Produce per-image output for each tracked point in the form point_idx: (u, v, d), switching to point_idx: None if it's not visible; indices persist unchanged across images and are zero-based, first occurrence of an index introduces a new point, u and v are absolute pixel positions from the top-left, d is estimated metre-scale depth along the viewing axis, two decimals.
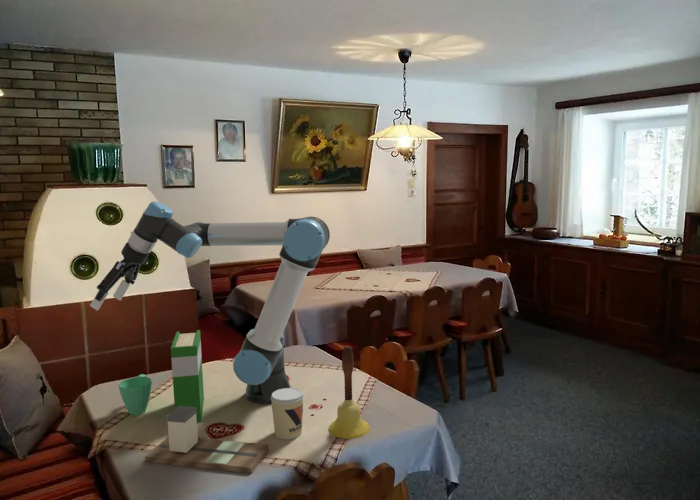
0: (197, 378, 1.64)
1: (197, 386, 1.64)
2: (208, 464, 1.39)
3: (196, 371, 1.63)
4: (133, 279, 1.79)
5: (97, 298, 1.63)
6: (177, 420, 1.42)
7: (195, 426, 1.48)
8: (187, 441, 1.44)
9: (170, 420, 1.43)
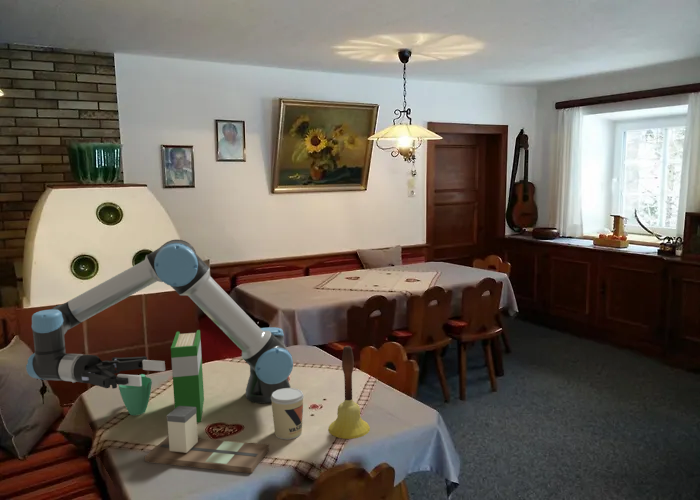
0: (197, 378, 1.64)
1: (197, 386, 1.64)
2: (208, 464, 1.39)
3: (196, 371, 1.63)
4: None
5: (123, 382, 1.40)
6: (177, 420, 1.42)
7: (195, 426, 1.48)
8: (187, 441, 1.44)
9: (170, 420, 1.43)
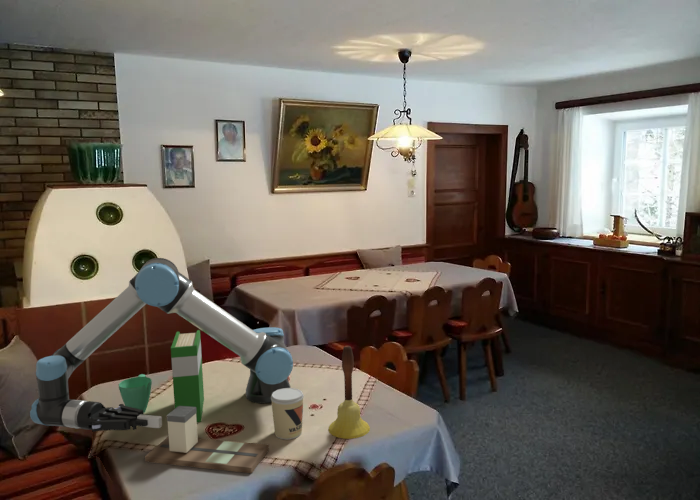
0: (197, 378, 1.64)
1: (197, 386, 1.64)
2: (208, 464, 1.39)
3: (196, 371, 1.63)
4: None
5: (143, 424, 1.46)
6: (177, 420, 1.42)
7: (195, 426, 1.48)
8: (187, 441, 1.44)
9: (170, 420, 1.43)
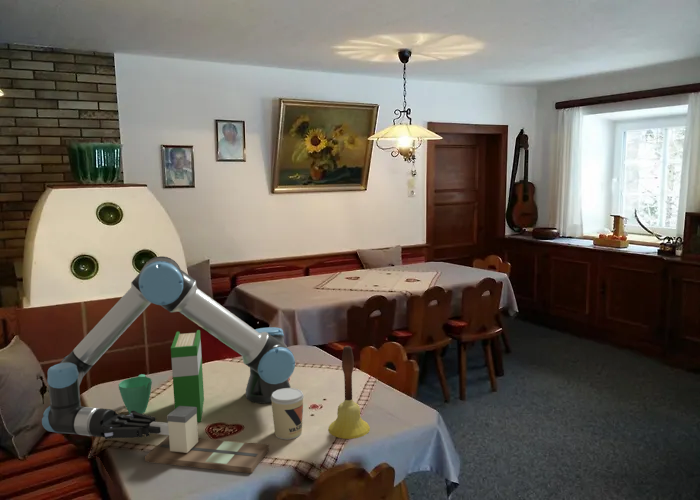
0: (197, 378, 1.64)
1: (197, 386, 1.64)
2: (208, 464, 1.39)
3: (196, 371, 1.63)
4: None
5: (156, 431, 1.45)
6: (177, 420, 1.42)
7: (195, 426, 1.48)
8: (188, 441, 1.44)
9: (170, 420, 1.43)
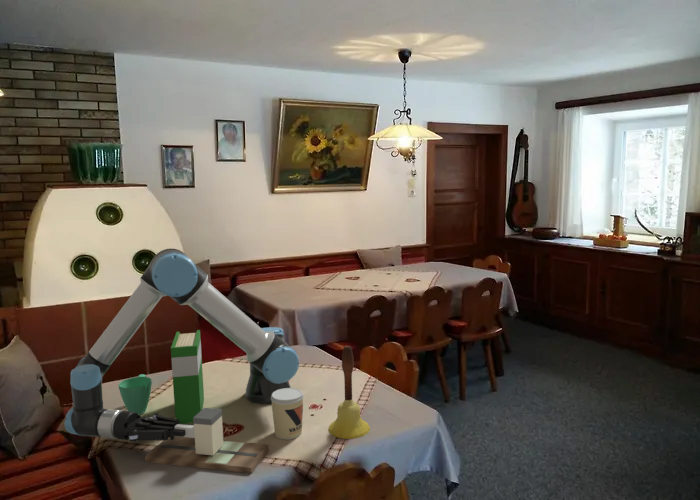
0: (197, 378, 1.64)
1: (197, 386, 1.64)
2: (208, 464, 1.39)
3: (196, 371, 1.63)
4: None
5: (181, 434, 1.43)
6: (204, 422, 1.41)
7: (221, 428, 1.46)
8: (214, 444, 1.42)
9: (196, 422, 1.41)
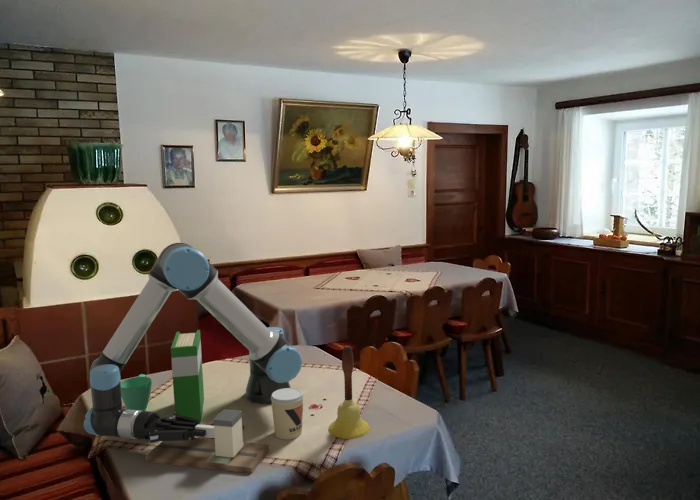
0: (197, 378, 1.64)
1: (197, 386, 1.64)
2: (208, 464, 1.39)
3: (196, 371, 1.63)
4: None
5: (202, 434, 1.43)
6: (224, 424, 1.39)
7: (241, 430, 1.45)
8: (234, 446, 1.41)
9: (217, 424, 1.40)
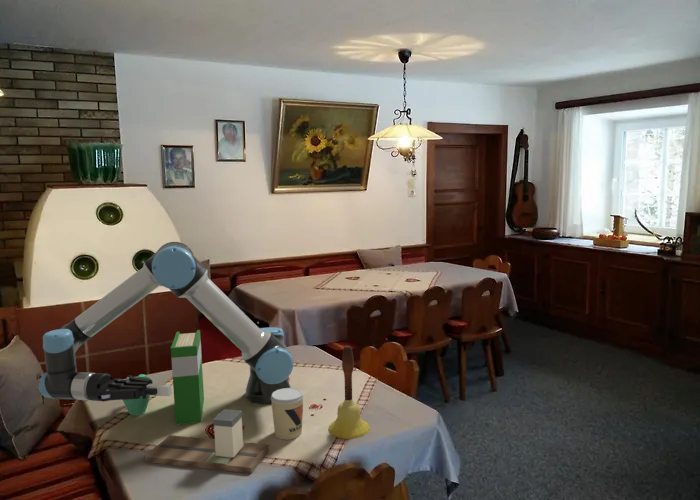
0: (197, 378, 1.64)
1: (197, 386, 1.64)
2: (208, 464, 1.39)
3: (196, 371, 1.63)
4: None
5: (152, 392, 1.46)
6: (224, 424, 1.39)
7: (241, 430, 1.45)
8: (234, 446, 1.41)
9: (217, 424, 1.40)
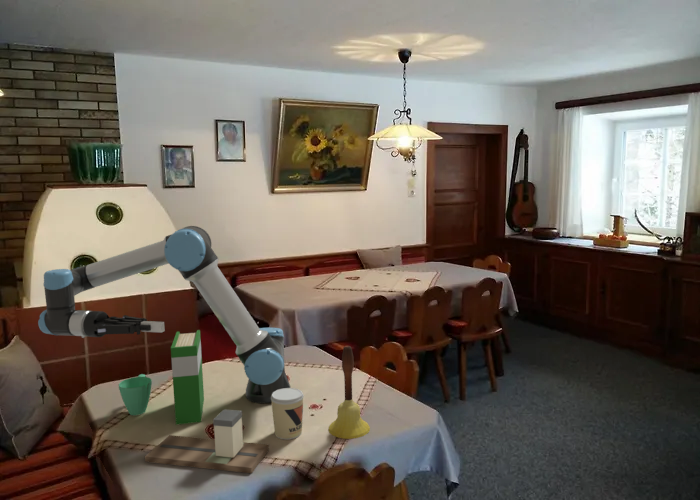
0: (197, 378, 1.64)
1: (197, 386, 1.64)
2: (208, 464, 1.39)
3: (196, 371, 1.63)
4: None
5: (146, 328, 1.53)
6: (224, 424, 1.39)
7: (241, 430, 1.45)
8: (234, 446, 1.41)
9: (217, 424, 1.40)
